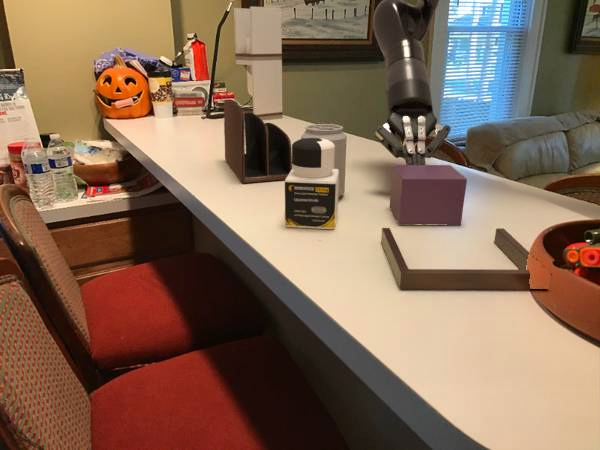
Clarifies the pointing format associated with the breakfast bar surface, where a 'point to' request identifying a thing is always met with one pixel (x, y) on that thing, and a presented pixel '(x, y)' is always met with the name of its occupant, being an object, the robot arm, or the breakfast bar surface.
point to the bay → (461, 277)
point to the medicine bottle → (312, 185)
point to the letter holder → (255, 146)
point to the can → (338, 139)
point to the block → (427, 194)
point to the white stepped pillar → (261, 57)
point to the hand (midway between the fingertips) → (417, 177)
